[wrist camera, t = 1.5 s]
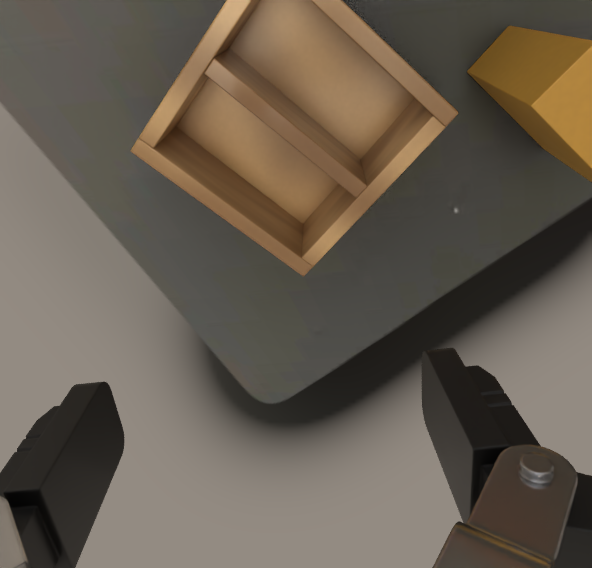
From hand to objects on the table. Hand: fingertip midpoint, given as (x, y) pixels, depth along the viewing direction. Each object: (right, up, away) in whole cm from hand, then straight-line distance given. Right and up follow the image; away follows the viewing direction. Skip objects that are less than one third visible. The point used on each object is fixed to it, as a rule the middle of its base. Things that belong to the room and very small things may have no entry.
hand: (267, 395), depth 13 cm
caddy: (+1, +14, +21) cm, 25 cm away
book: (+16, +15, +20) cm, 29 cm away
